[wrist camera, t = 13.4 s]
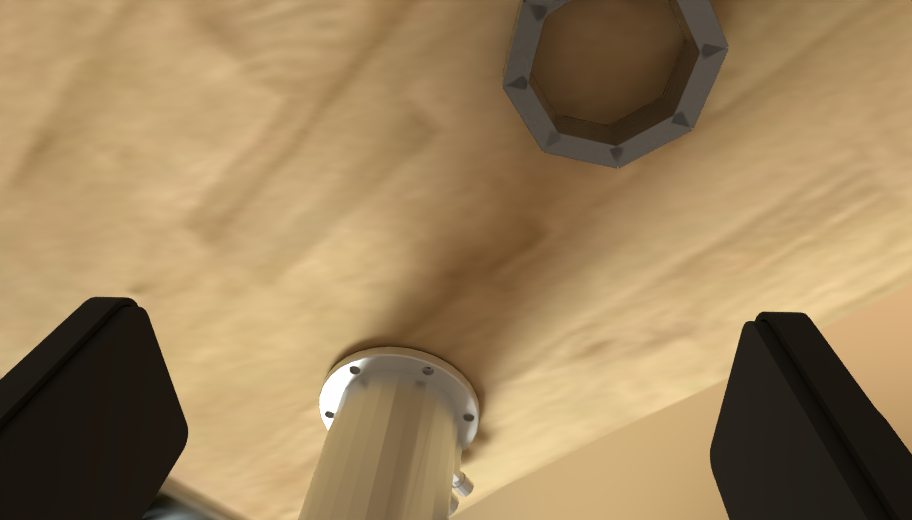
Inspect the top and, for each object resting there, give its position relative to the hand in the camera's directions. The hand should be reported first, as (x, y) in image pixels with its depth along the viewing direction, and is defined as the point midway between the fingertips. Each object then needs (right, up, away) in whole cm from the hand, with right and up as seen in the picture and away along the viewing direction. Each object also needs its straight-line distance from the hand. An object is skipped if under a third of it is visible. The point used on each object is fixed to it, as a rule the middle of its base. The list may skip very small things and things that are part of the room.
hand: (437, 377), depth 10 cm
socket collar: (+8, +13, +22) cm, 27 cm away
